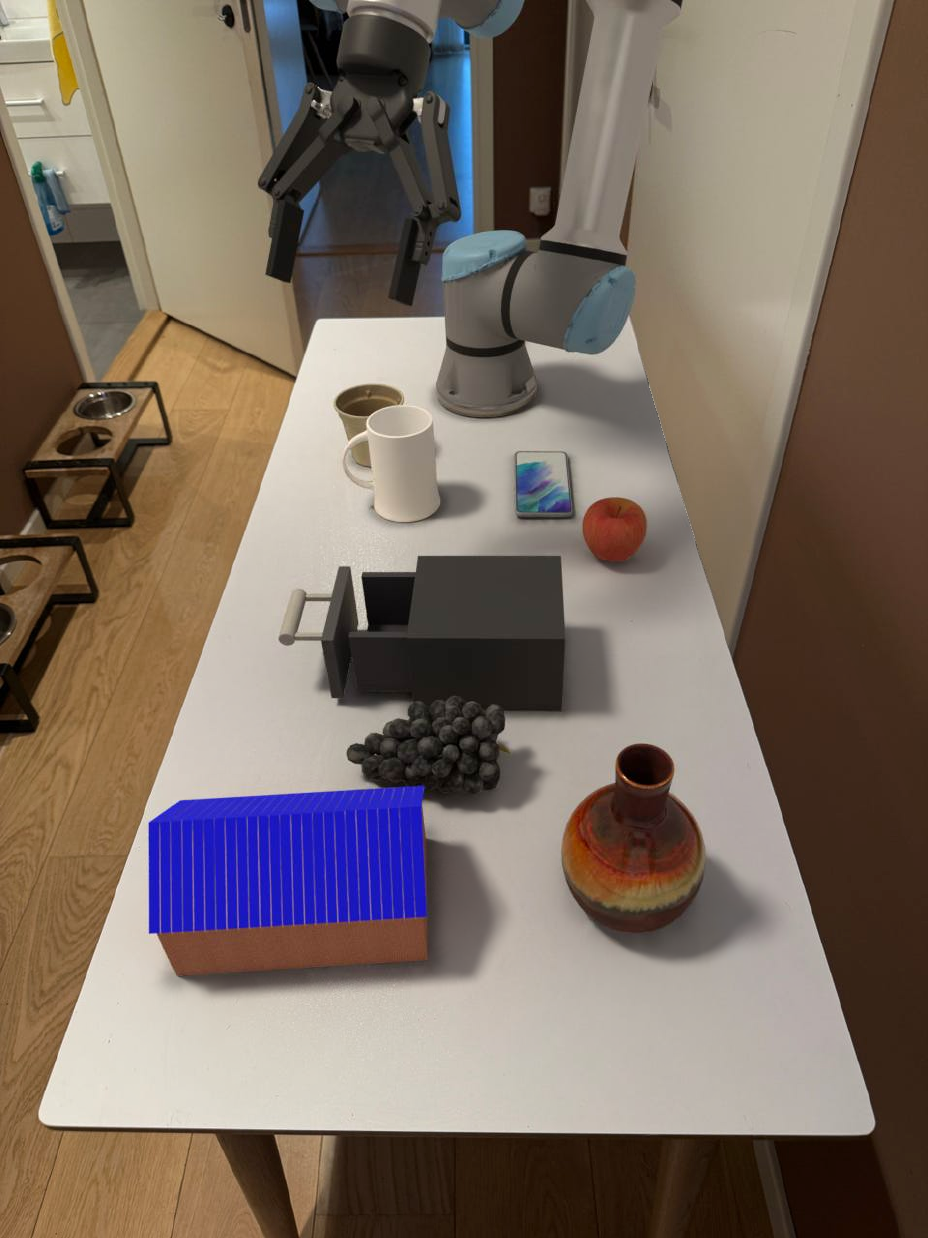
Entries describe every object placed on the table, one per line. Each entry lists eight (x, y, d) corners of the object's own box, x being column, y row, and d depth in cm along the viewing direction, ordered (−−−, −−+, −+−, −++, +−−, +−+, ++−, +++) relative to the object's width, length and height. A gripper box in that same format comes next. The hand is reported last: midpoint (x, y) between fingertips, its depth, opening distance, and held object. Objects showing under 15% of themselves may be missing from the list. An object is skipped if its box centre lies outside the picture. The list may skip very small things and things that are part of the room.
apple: (629, 533, 112) (635, 477, 107) (653, 568, 107) (660, 511, 102) (572, 543, 111) (575, 487, 106) (593, 579, 106) (597, 522, 101)
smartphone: (567, 450, 126) (573, 513, 114) (566, 456, 126) (572, 519, 115) (514, 450, 126) (514, 512, 115) (513, 456, 127) (514, 518, 115)
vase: (602, 973, 70) (617, 852, 60) (536, 860, 78) (539, 736, 68) (725, 918, 73) (758, 794, 63) (649, 814, 81) (668, 689, 71)
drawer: (283, 698, 92) (270, 640, 87) (304, 622, 101) (292, 565, 95) (467, 699, 91) (464, 641, 86) (471, 623, 99) (469, 566, 94)
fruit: (331, 722, 78) (509, 723, 77) (350, 679, 86) (512, 679, 84) (340, 809, 81) (511, 811, 80) (357, 760, 89) (514, 761, 88)
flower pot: (406, 473, 125) (400, 416, 119) (336, 474, 125) (328, 417, 119) (411, 438, 132) (406, 382, 126) (345, 439, 132) (338, 383, 126)
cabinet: (413, 710, 91) (406, 637, 85) (423, 625, 101) (417, 555, 95) (561, 711, 90) (565, 638, 84) (558, 626, 100) (561, 555, 94)
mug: (346, 525, 116) (333, 440, 108) (351, 487, 122) (340, 405, 115) (439, 521, 116) (434, 436, 108) (440, 484, 122) (435, 402, 114)
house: (198, 848, 80) (164, 759, 72) (429, 834, 80) (420, 744, 72) (171, 980, 71) (129, 894, 63) (432, 964, 71) (422, 876, 63)
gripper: (247, 5, 80) (203, 259, 84) (498, 11, 69) (434, 302, 73) (301, 46, 86) (258, 280, 90) (538, 58, 76) (477, 322, 80)
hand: (336, 290), depth 82 cm, fingers open, 13 cm apart
